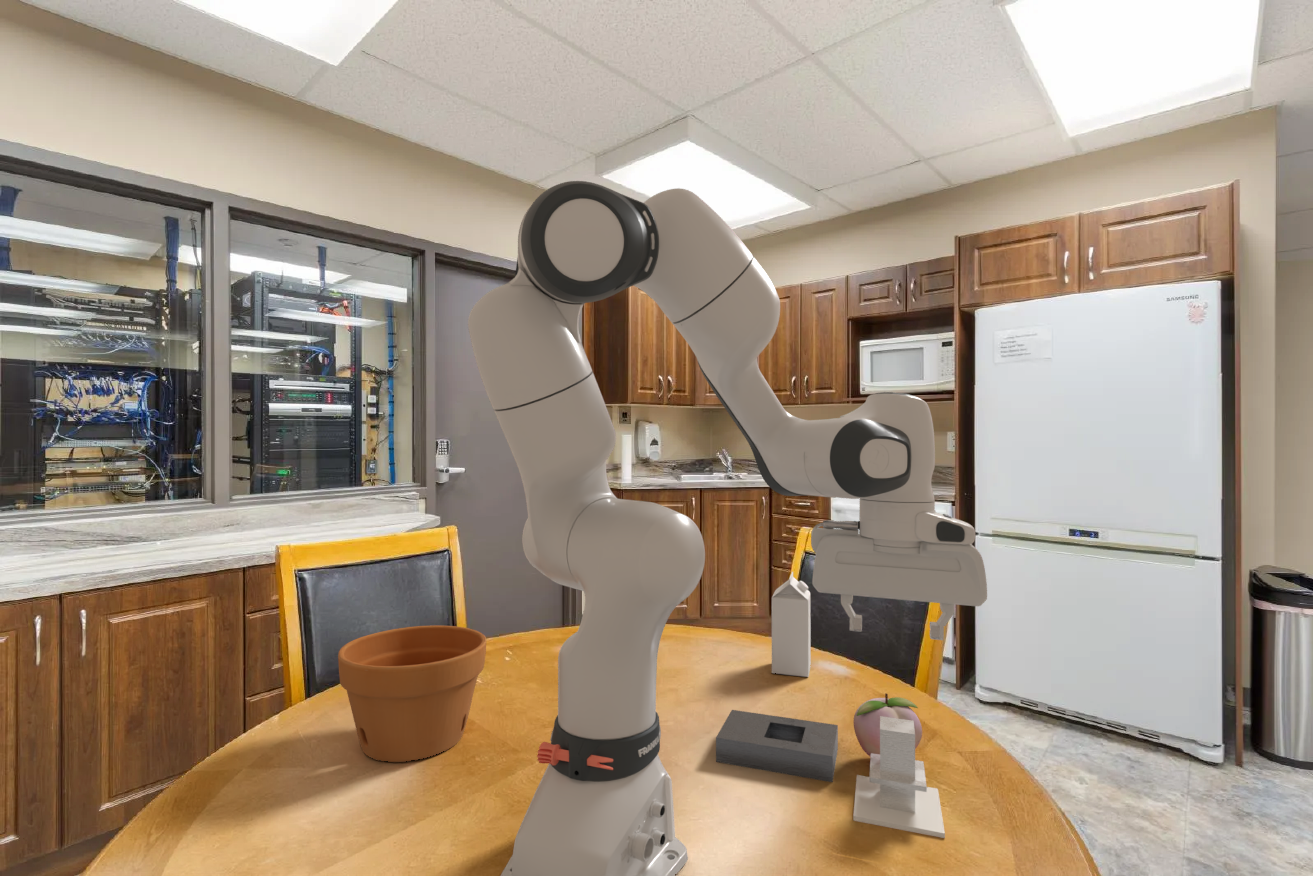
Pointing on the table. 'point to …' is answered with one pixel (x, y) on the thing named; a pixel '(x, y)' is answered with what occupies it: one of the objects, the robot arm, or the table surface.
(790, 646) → the milk carton
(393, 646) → the flower pot
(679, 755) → the table surface
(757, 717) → the post block
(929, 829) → the pad
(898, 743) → the peg
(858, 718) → the decorative fruit
